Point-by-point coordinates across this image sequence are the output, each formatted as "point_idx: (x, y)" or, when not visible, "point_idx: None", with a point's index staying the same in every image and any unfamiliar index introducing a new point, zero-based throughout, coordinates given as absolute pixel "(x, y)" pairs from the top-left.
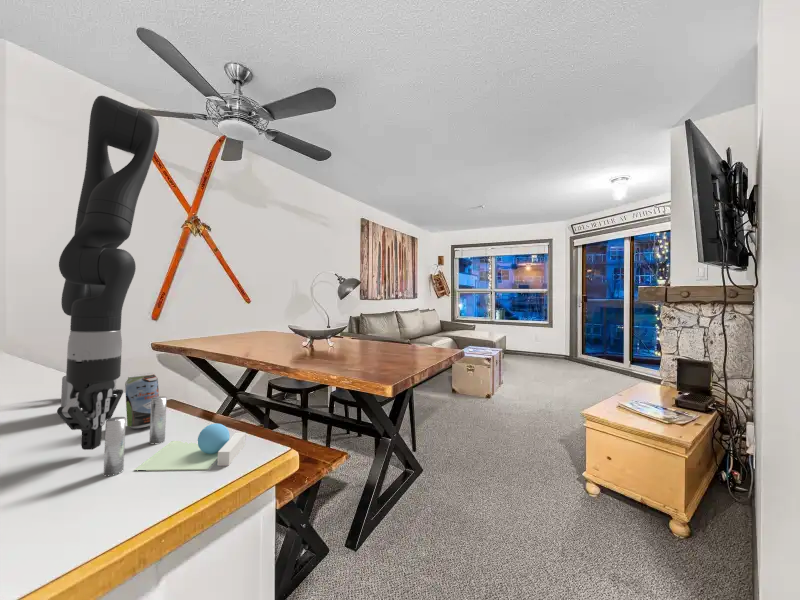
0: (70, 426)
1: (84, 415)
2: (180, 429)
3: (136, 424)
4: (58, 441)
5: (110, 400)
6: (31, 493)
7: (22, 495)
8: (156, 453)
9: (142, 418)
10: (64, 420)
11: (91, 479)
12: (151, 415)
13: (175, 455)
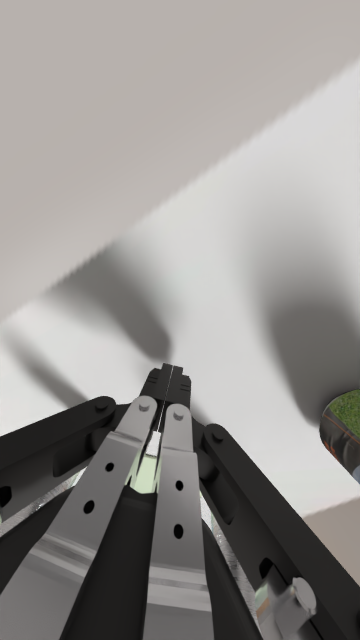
0: (75, 410)
1: (38, 498)
2: (285, 477)
3: (324, 422)
4: (311, 244)
5: (253, 563)
6: (34, 337)
7: (28, 327)
8: (154, 460)
9: (336, 449)
10: (13, 434)
11: (74, 398)
12: (219, 534)
13: (140, 482)
